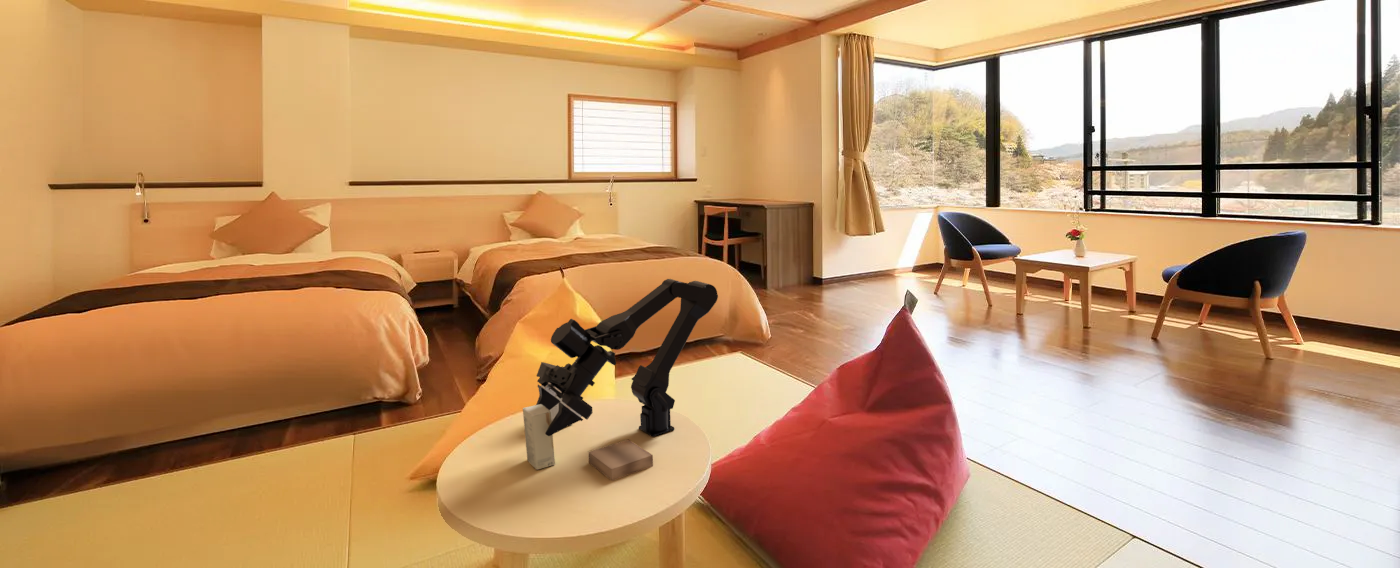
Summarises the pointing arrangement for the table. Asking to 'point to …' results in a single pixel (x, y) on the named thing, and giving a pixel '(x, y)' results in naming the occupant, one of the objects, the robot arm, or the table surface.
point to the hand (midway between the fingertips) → (539, 427)
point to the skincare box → (538, 436)
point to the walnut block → (620, 459)
